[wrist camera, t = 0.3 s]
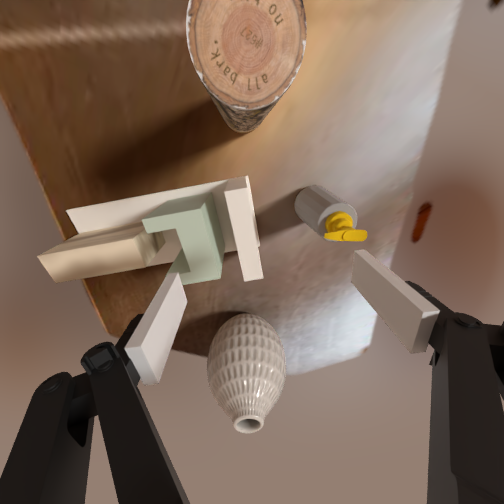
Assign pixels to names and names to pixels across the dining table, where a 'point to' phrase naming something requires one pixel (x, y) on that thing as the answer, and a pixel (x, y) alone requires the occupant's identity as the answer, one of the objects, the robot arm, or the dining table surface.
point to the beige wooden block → (102, 252)
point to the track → (136, 208)
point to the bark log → (246, 54)
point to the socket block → (192, 236)
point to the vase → (246, 370)
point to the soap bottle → (328, 215)
